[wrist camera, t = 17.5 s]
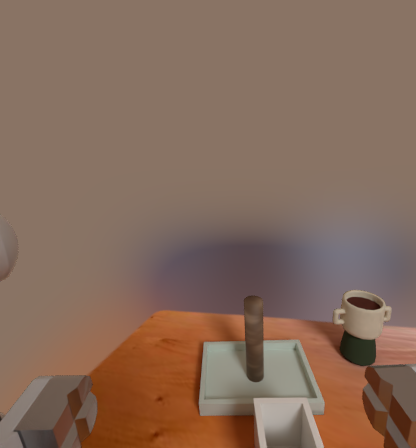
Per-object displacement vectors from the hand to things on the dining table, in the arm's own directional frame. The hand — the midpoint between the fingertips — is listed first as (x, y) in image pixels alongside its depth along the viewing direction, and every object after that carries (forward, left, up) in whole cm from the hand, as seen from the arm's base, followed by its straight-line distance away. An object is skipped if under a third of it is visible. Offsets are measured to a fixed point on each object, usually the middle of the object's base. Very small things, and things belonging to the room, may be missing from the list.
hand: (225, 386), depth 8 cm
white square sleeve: (+7, +18, -36) cm, 41 cm away
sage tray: (+5, +33, -36) cm, 49 cm away
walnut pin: (+5, +33, -35) cm, 48 cm away
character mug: (+26, +38, -36) cm, 58 cm away
